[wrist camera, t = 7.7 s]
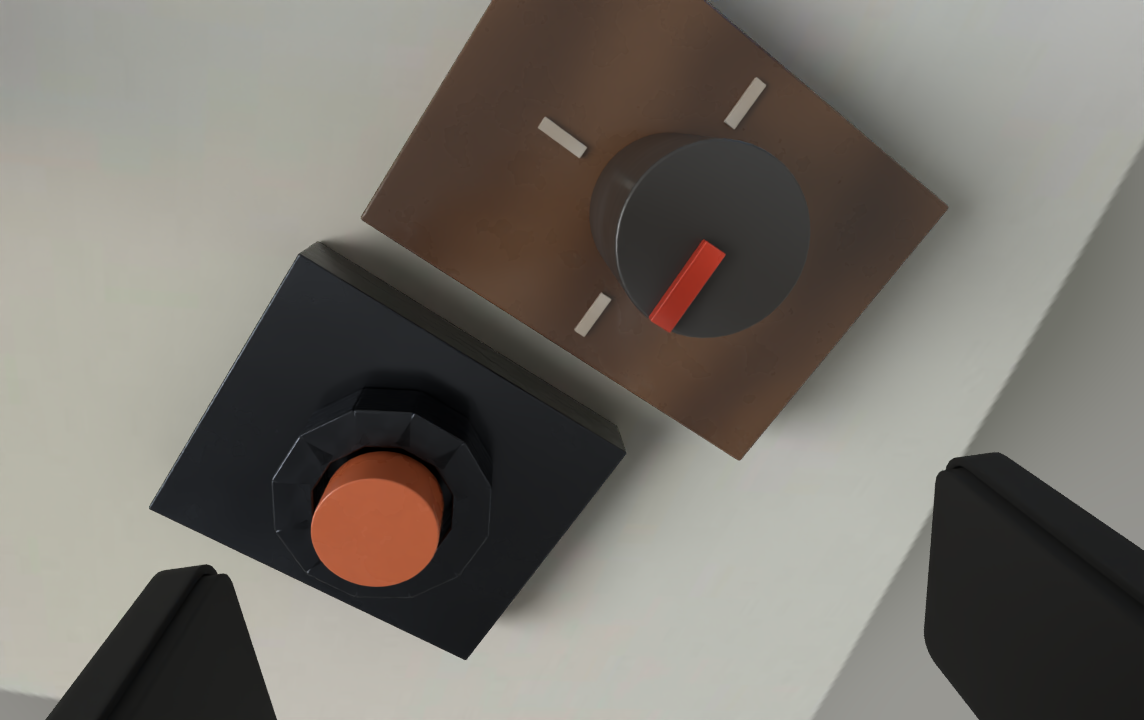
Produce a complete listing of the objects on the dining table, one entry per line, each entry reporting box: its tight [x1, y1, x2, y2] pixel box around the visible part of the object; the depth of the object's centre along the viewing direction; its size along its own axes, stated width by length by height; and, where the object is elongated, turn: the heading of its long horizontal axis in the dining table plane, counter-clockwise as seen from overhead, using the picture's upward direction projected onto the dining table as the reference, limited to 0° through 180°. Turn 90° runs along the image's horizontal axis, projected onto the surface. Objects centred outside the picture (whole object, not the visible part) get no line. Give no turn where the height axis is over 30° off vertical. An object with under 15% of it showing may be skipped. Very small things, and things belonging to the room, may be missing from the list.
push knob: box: [311, 451, 444, 587], centre depth 21 cm, size 4×4×2 cm
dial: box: [590, 133, 810, 338], centre depth 18 cm, size 4×4×5 cm
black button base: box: [149, 241, 626, 660], centre depth 23 cm, size 12×10×4 cm
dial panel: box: [361, 0, 948, 460], centre depth 22 cm, size 14×10×3 cm
